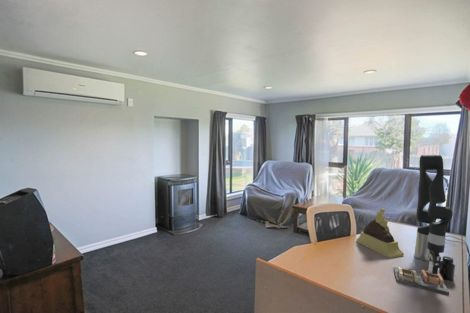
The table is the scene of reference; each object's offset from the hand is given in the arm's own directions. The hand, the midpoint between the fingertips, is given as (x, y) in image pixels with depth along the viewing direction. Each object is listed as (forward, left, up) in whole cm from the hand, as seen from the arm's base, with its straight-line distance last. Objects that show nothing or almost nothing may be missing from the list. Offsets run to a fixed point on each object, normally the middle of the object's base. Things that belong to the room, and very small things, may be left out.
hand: (432, 270), depth 146 cm
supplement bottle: (-11, +9, -7) cm, 16 cm away
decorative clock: (-37, -24, -8) cm, 44 cm away
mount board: (+2, -6, -7) cm, 10 cm away
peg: (0, 0, -6) cm, 6 cm away
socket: (0, 0, -6) cm, 6 cm away
